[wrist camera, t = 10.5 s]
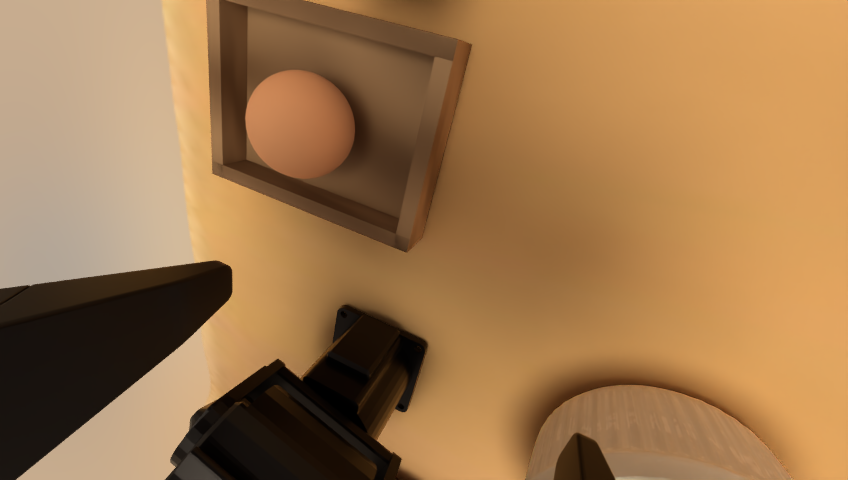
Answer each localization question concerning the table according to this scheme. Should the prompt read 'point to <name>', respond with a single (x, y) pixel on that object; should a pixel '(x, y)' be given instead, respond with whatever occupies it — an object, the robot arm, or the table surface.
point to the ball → (300, 124)
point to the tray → (367, 96)
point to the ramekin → (655, 437)
